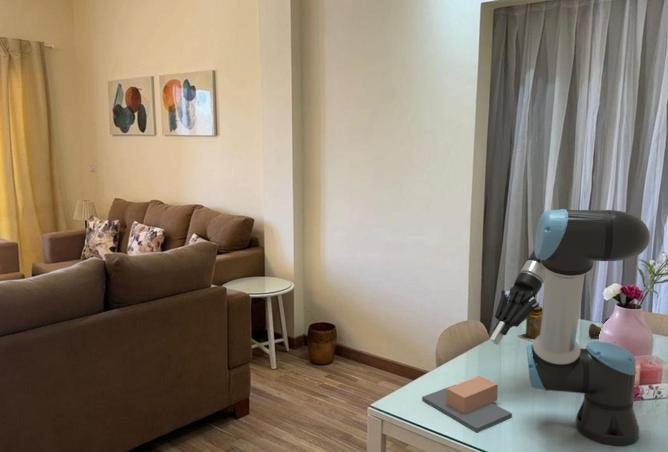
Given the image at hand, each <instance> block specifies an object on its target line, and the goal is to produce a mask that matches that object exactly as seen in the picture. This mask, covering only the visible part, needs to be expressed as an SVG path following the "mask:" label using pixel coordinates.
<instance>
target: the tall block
mask: <svg viewBox="0 0 668 452" xmlns="http://www.w3.org/2000/svg"><path fill="white" fill-rule="evenodd" d="M454 385H455V386H453V385H451V386H452V387H450V386H448V387H449V388H448V387H446V388H447V389H446V405H448V406H450V407H452V408H454V409H455V410H457V411H459V412H461V413H463V414H466V413H468V412H471V411H473V410H475V409H478V408H480V407H482V406H485V405H487V404H489V403H494V402H496V401H498V396H499V395H498V393H499V384H498V383H496V382H493V381H492V380H490V379H487V378H484V377H483V376H481V375H479V376H476V377H473V378H471V379H468V380H466V381H463V382H460V383H457V384H454Z"/></svg>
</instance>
